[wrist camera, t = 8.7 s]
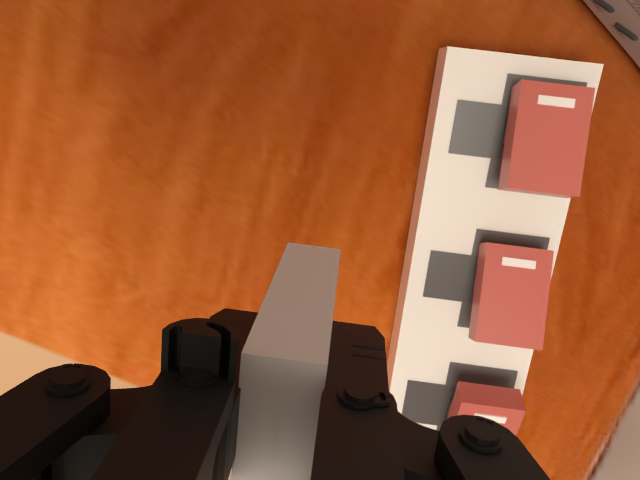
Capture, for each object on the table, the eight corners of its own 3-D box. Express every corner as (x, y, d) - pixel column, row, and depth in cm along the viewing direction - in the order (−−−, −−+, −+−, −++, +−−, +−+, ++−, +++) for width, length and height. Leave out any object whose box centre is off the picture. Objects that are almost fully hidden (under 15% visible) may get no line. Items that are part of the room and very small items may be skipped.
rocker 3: (458, 381, 37) (461, 403, 36) (520, 389, 37) (526, 412, 35) (439, 441, 40) (442, 464, 39) (496, 449, 40) (501, 473, 39)
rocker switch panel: (438, 48, 37) (449, 45, 33) (578, 64, 37) (608, 64, 32) (378, 419, 45) (379, 458, 41) (491, 435, 45) (506, 475, 40)
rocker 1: (512, 87, 33) (522, 78, 31) (581, 95, 33) (596, 87, 31) (497, 189, 33) (507, 187, 32) (566, 198, 33) (580, 196, 31)
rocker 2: (479, 243, 36) (487, 242, 34) (543, 251, 36) (554, 250, 34) (468, 337, 36) (475, 341, 34) (532, 346, 36) (543, 350, 34)
